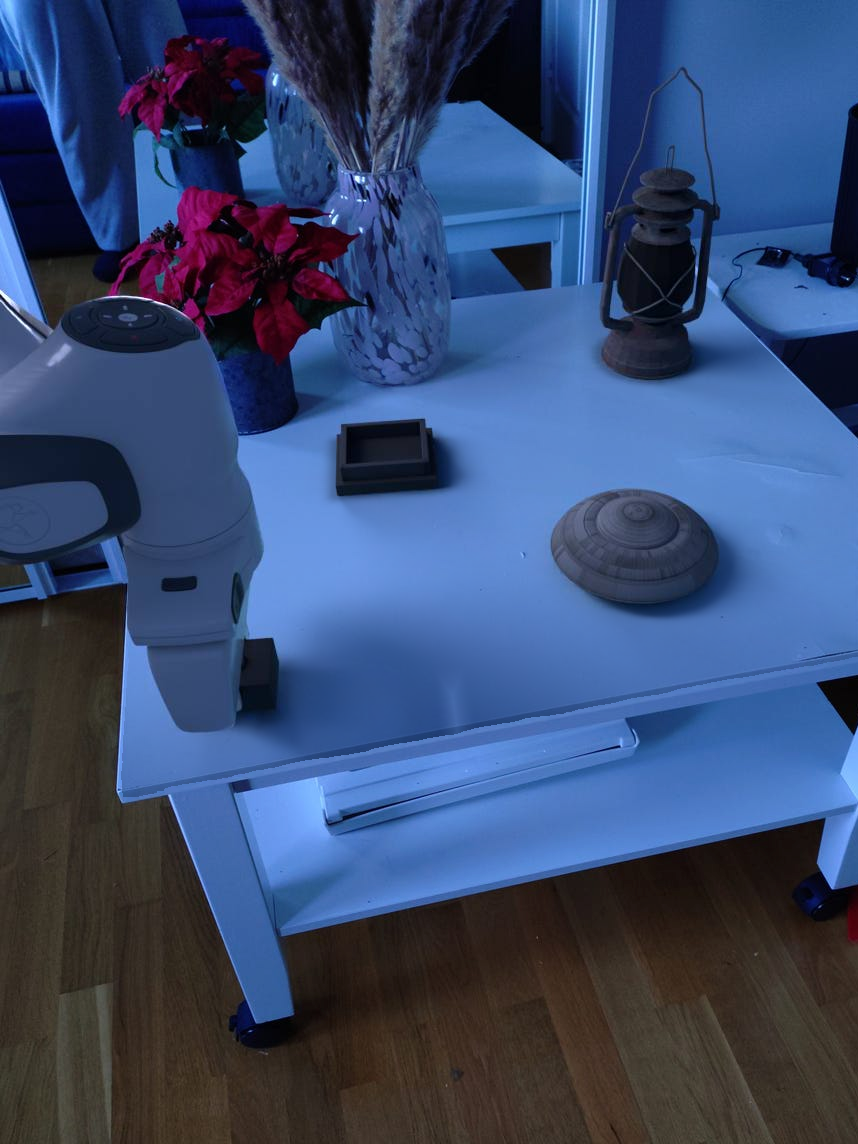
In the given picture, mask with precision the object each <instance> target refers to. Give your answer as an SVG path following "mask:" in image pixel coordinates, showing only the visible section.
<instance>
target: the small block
mask: <svg viewBox="0 0 858 1144" xmlns="http://www.w3.org/2000/svg"><path fill="white" fill-rule="evenodd" d="M279 668H280V660H279V657H278V652H277V647H276V644H275V640H274V637H261V638H259V637H258V638H249V639H246V640H244V646H243V655H242V664H241V674H240V684H241V688H242V692H243V702H242V709H241V710H239V711H236V713H245V712H258V711H269V710H276V709H277V700H278V685H279V671H280V670H279Z"/></svg>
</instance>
